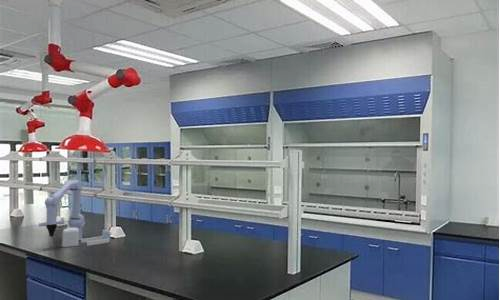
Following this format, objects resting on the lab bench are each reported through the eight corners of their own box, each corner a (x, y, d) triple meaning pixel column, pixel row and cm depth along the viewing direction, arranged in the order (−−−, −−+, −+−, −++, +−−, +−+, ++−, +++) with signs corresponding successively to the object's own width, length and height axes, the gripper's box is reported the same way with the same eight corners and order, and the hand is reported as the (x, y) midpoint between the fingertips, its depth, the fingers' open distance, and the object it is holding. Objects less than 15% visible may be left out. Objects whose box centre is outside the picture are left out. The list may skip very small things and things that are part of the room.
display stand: (81, 242, 268) (81, 232, 268) (103, 239, 279) (103, 229, 279) (87, 245, 259) (87, 235, 259) (110, 242, 270) (110, 232, 270)
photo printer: (78, 244, 262) (78, 226, 262) (79, 245, 259) (79, 227, 259) (61, 246, 257) (61, 228, 257) (62, 247, 253) (62, 229, 253)
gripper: (41, 217, 242) (40, 238, 242) (65, 215, 252) (65, 235, 251) (38, 216, 247) (37, 237, 247) (61, 213, 257) (61, 234, 257)
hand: (51, 236), depth 249 cm, fingers closed
